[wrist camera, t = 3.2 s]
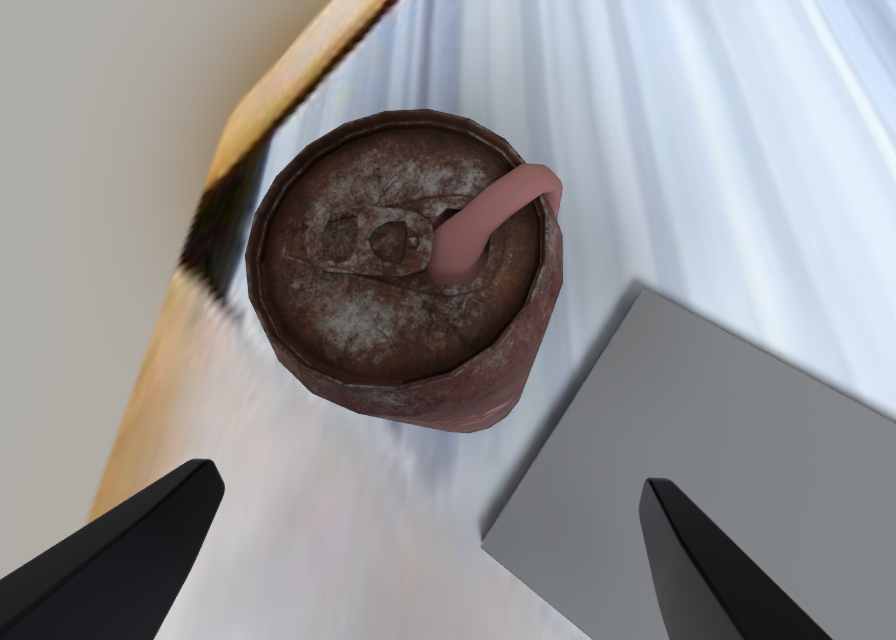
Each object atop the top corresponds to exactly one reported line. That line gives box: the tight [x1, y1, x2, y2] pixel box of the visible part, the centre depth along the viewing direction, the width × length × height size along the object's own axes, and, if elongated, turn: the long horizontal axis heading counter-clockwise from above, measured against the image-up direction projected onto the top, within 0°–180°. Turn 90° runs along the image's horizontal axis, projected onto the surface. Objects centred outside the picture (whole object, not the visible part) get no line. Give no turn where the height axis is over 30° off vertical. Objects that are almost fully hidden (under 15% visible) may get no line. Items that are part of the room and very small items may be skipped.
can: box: [245, 109, 563, 433], centre depth 14 cm, size 6×6×14 cm
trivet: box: [480, 288, 896, 640], centre depth 17 cm, size 14×14×1 cm
